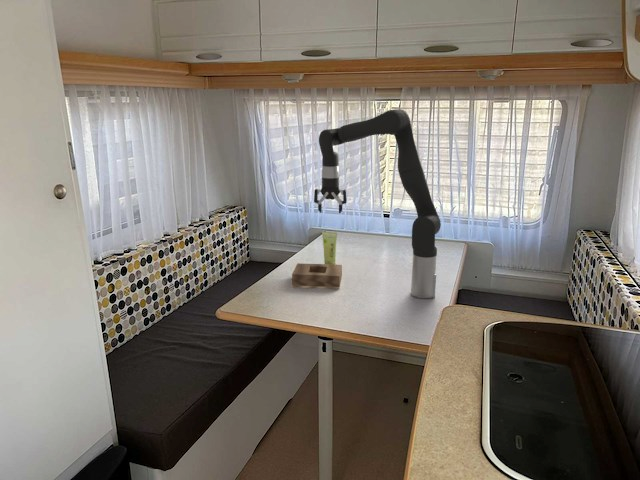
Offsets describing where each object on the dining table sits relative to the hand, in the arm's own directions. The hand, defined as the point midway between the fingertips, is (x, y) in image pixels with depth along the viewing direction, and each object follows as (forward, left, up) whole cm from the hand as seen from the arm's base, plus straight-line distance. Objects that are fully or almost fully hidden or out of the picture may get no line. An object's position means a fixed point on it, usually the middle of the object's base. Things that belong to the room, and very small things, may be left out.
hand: (330, 212), depth 212 cm
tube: (0, +1, -28) cm, 28 cm away
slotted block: (+4, +14, -28) cm, 31 cm away
